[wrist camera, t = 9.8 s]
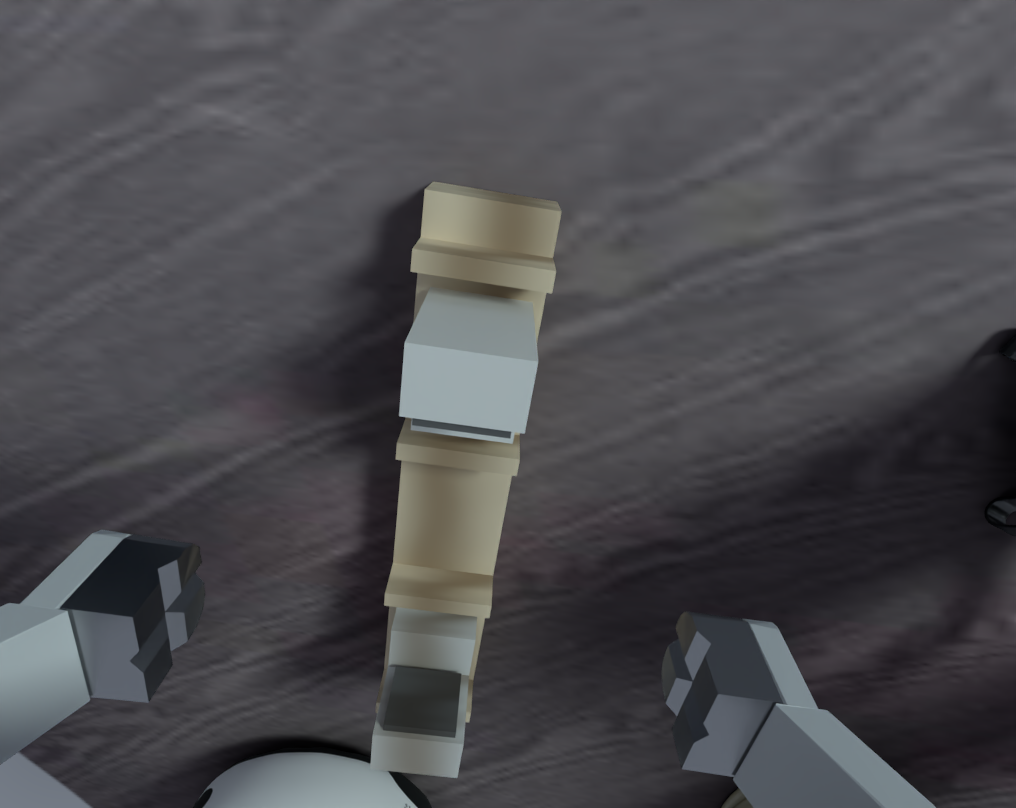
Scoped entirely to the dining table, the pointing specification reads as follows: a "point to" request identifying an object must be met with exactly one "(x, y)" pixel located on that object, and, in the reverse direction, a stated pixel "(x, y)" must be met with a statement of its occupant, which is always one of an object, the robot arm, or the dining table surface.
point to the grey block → (469, 366)
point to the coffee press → (1006, 505)
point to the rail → (453, 490)
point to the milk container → (310, 783)
